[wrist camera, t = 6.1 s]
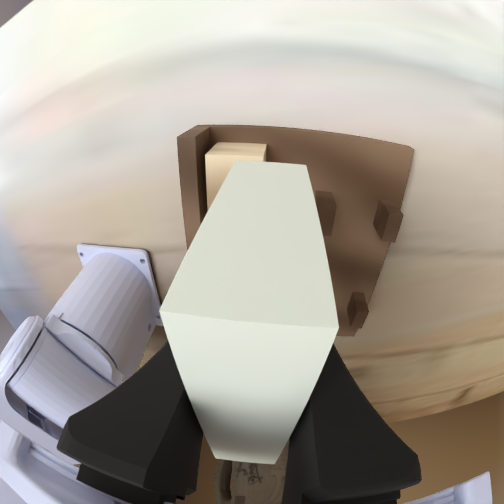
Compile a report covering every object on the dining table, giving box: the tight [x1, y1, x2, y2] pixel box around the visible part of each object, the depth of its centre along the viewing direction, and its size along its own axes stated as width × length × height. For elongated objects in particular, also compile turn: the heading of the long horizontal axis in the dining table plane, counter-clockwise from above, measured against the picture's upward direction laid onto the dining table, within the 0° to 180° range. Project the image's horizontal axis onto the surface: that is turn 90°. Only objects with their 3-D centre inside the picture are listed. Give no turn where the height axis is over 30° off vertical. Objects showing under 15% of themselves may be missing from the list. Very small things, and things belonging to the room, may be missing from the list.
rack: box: [177, 125, 414, 336], centre depth 19 cm, size 18×14×4 cm
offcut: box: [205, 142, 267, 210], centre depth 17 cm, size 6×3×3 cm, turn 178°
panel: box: [159, 160, 339, 464], centre depth 10 cm, size 10×3×8 cm, turn 179°
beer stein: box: [214, 437, 290, 504], centre depth 25 cm, size 15×11×20 cm
